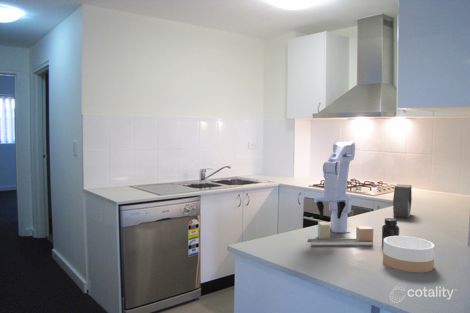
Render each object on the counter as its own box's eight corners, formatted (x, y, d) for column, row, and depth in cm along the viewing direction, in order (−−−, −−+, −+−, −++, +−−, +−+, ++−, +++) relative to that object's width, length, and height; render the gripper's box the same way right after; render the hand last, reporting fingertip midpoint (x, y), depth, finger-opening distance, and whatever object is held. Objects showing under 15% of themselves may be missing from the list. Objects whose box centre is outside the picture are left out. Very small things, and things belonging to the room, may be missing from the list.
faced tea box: (356, 242, 167) (356, 226, 167) (369, 242, 167) (369, 226, 167) (359, 244, 163) (359, 228, 162) (373, 244, 163) (373, 228, 163)
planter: (407, 212, 206) (410, 178, 214) (391, 210, 210) (395, 177, 218) (409, 223, 219) (412, 191, 227) (395, 222, 223) (398, 190, 231)
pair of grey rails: (307, 240, 169) (308, 236, 168) (365, 240, 169) (366, 236, 169) (311, 246, 161) (311, 241, 160) (372, 246, 161) (372, 241, 161)
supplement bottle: (384, 243, 165) (385, 216, 164) (401, 246, 160) (402, 218, 159) (379, 247, 159) (380, 219, 158) (396, 250, 155) (397, 221, 154)
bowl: (390, 253, 152) (391, 233, 151) (438, 263, 141) (439, 241, 140) (376, 265, 139) (376, 242, 138) (427, 276, 128) (428, 252, 127)
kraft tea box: (326, 236, 175) (326, 221, 175) (329, 240, 169) (330, 225, 169) (317, 236, 175) (317, 221, 175) (320, 240, 169) (320, 225, 169)
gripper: (316, 189, 164) (316, 220, 165) (350, 189, 164) (349, 220, 165) (313, 187, 171) (312, 216, 172) (344, 187, 171) (344, 216, 172)
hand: (330, 218), depth 169 cm, fingers open, 7 cm apart
